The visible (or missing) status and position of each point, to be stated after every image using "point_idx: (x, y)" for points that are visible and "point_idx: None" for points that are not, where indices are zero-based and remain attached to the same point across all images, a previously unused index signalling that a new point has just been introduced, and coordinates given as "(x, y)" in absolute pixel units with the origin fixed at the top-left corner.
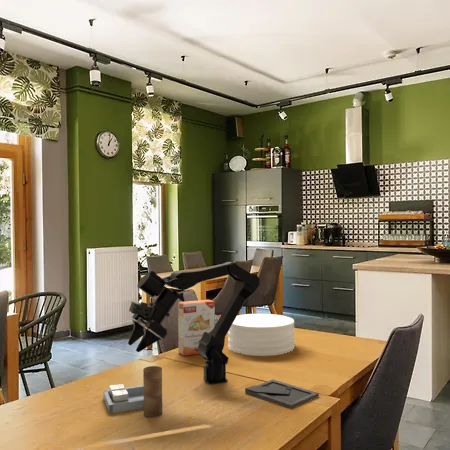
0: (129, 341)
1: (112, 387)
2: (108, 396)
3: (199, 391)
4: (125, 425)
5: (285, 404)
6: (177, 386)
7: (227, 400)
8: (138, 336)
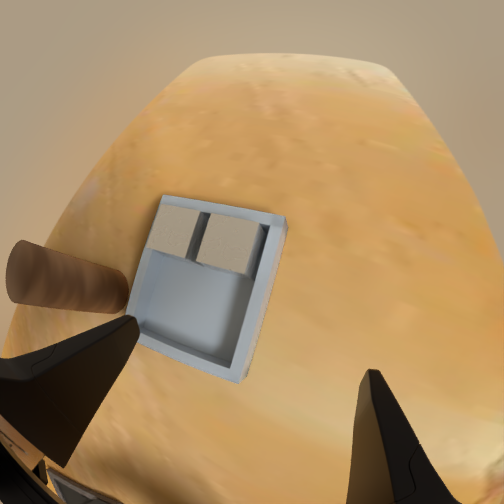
0: (369, 385)
1: (232, 225)
2: (223, 212)
3: (179, 474)
4: (116, 220)
5: (54, 472)
6: (253, 467)
7: (104, 459)
8: (356, 480)
